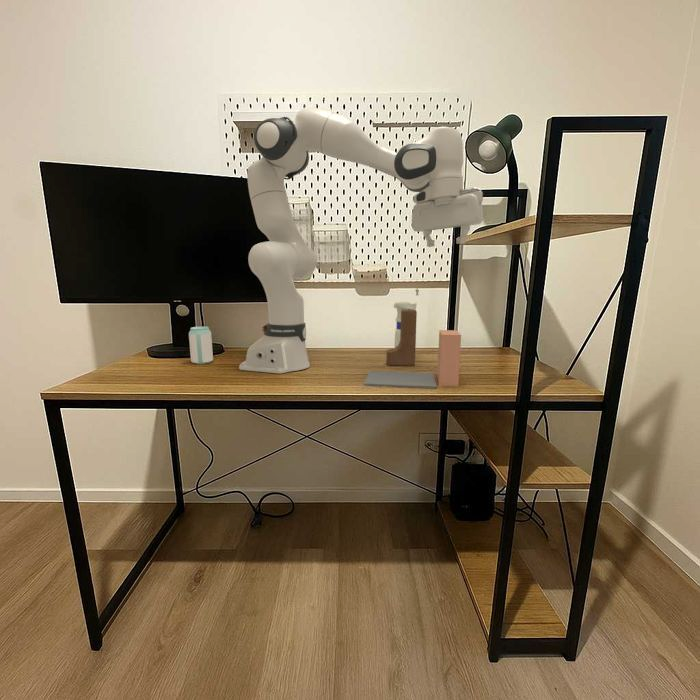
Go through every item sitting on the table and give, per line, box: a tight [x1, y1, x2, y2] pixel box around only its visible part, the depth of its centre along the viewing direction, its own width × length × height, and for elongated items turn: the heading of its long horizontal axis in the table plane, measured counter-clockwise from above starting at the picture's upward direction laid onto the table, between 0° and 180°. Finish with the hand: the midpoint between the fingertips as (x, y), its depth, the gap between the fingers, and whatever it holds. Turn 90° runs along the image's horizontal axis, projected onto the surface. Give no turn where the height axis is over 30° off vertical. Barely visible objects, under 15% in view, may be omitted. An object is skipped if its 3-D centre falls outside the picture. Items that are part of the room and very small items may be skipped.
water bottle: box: [393, 287, 420, 349], centre depth 141 cm, size 8×9×25 cm
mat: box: [363, 370, 437, 389], centre depth 111 cm, size 19×14×1 cm
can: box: [188, 326, 214, 365], centre depth 133 cm, size 7×7×12 cm
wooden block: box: [386, 309, 418, 366], centre depth 129 cm, size 9×4×18 cm, turn 90°
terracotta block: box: [436, 329, 462, 387], centre depth 108 cm, size 5×8×14 cm, turn 171°
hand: (445, 245), depth 109 cm, fingers open, 8 cm apart
